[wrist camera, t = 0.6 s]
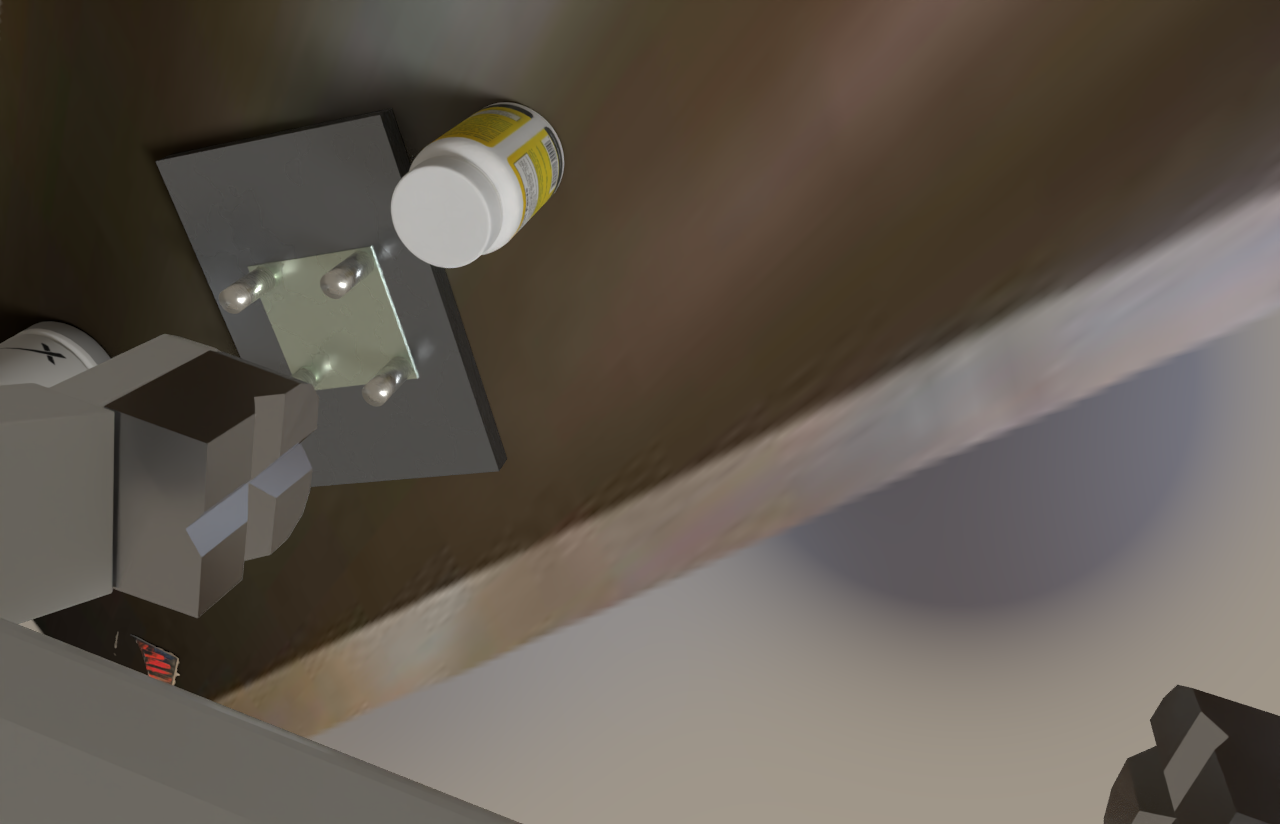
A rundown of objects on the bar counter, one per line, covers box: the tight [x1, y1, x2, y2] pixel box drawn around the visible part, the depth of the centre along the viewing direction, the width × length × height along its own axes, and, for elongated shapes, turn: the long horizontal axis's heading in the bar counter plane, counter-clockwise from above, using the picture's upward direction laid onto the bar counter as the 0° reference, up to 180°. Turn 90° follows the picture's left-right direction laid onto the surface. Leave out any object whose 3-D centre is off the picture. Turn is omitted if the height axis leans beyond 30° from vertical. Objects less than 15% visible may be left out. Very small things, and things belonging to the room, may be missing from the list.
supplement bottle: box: [391, 102, 564, 268], centre depth 43 cm, size 5×5×8 cm
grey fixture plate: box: [156, 108, 507, 487], centre depth 50 cm, size 18×12×4 cm, turn 13°
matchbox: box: [114, 632, 180, 685], centre depth 69 cm, size 5×5×1 cm
